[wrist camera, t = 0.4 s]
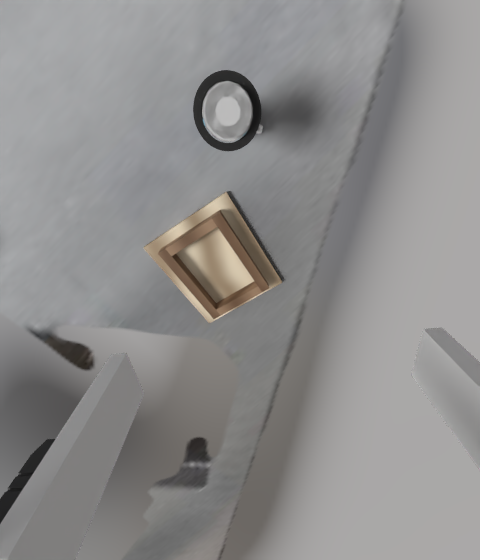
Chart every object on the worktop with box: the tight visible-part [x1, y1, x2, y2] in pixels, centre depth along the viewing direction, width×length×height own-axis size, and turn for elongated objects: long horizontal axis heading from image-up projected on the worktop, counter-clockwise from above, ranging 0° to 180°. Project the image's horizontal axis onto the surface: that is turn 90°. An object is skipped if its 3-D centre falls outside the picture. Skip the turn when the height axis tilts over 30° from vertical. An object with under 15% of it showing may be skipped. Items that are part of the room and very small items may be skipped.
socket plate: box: [144, 192, 282, 323], centre depth 35 cm, size 13×15×2 cm
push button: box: [193, 70, 263, 151], centre depth 24 cm, size 7×5×10 cm
